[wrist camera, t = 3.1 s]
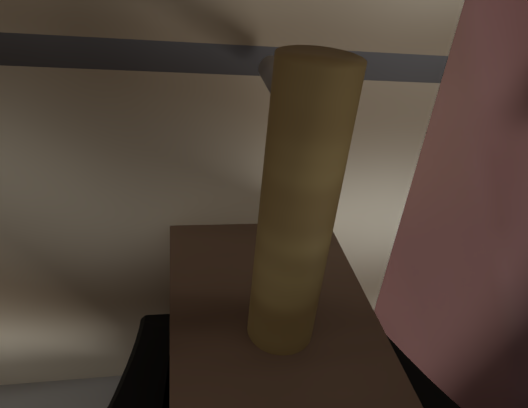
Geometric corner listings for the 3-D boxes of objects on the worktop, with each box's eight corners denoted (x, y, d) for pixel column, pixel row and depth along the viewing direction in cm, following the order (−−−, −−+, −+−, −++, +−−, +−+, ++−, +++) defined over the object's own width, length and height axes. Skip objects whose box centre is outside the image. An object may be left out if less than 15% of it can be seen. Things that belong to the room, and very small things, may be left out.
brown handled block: (302, 354, 14) (363, 559, 10) (172, 364, 14) (173, 592, 9) (368, 16, 9) (562, 116, 5) (165, 1, 9) (159, 105, 4)
